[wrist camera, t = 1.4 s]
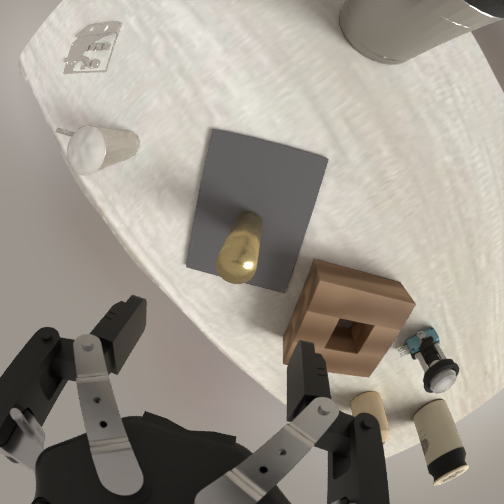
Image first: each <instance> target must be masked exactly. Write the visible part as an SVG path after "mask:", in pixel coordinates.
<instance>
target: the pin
mask: <svg viewBox="0 0 504 504" xmlns="http://www.w3.org/2000/svg"><path fill="white" fill-rule="evenodd" d="M262 232H263V220H262V218H261V217H260V216H259V215H258V214H257V213H255V212H252V211H246V212H243V213H241V214H240V215H239V216H238V217H237V219H236V221H235V223H234V225H233V227H232V229H231V231H230V233H229V235H228V237H227V239H226V241H225V243H224V245H223V247H222V249H221V251H220V253H219V255H218V257H217V260H216V269H217V271H218V273H219V275H220V276H221V277H222V278H223V279H224V280H226V281H227V282H230V283H233V284H242V283H245V282H247V281H249V280H250V279H251V278H252V277H253V276H254V274H255V272H256V267H257V261H258V255H259V249H260V244H261V238H262Z"/></svg>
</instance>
